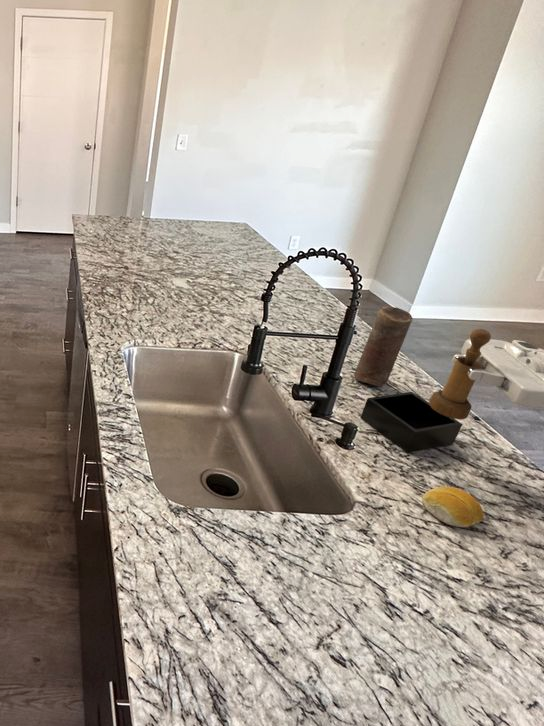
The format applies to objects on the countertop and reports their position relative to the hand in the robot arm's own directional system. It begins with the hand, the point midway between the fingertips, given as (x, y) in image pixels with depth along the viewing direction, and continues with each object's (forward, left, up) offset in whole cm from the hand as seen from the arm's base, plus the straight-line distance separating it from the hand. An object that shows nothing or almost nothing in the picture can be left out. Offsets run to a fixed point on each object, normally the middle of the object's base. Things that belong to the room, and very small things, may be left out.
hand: (461, 366), depth 104 cm
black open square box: (-4, -8, -22) cm, 23 cm away
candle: (-13, -27, -22) cm, 37 cm away
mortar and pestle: (-1, 0, -10) cm, 10 cm away
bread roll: (+9, +14, -22) cm, 28 cm away
